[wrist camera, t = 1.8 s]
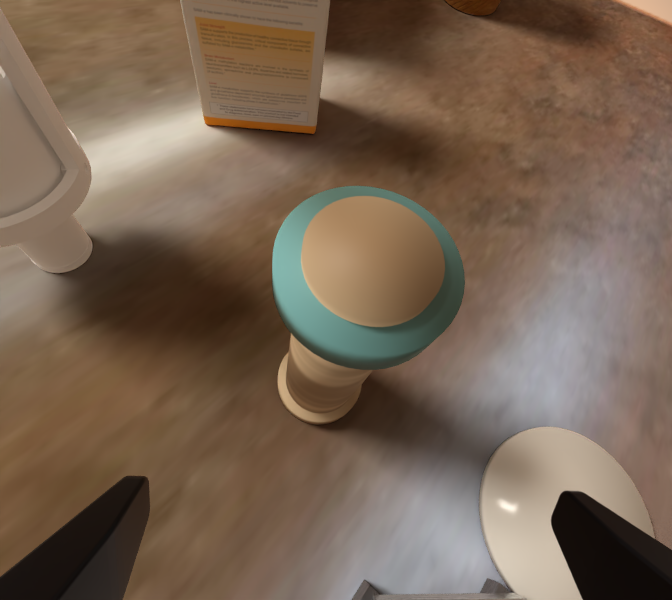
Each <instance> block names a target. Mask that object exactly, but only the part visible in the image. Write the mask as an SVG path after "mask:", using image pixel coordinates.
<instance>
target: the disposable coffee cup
mask: <svg viewBox="0 0 672 600" xmlns="http://www.w3.org/2000/svg"><path fill="white" fill-rule="evenodd" d="M445 1H446V2H447V3H448V4H450V5H451V6H452V7H454V8H456V9H458V10H460V11H462V12H465V13H468V14H471V15H489V14H491V13H493V12H494V11H495V10H496V9H497V7H498V5H499V3H500V2H501V0H445Z"/></svg>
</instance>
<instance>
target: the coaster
mask: <svg viewBox="0 0 672 600" xmlns="http://www.w3.org/2000/svg"><path fill="white" fill-rule="evenodd" d="M563 491H581V492H584V493H585V494H587V495H588V496H590V497H592V498H593V499H595V500H596V501H598V502H599V503H601V504H602V505H604V506H605V507H607V508H608V509H610V510H611V511H613V512H614V513H616V514H617V515H619V516H621V517H622V518H624V519H625V520H627V521H628V522H630V523H631V524H633V525H634V526H636V527H637V528H639V529H640V530H642V531H643V532H645V533H646V534H648V535H650V536H651V537H653V538H654V539H655V536H654V532H653V527H652V523H651V520H650V517H649V514H648V511H647V509H646V506H645V504H644V502H643V499H642V497H641V496H640V494H639V492H638V490H637V488H636V486H635V485H634V483H633V482H632V480H631V479H630V477H629V476H628V474H627V473H626V472H625V471H624V469H623V468H622V467H621V466H620V464H619V463H618V462H617V461H616V460H615V459H614V458H613V457H612V456H611V455H610V454H609V453H607V452H606V451H605V450H604V449H603V448H602V447H600V446H599V445H597V444H596V443H595V442H593V441H592V440H590V439H588V438H586V437H584V436H583V435H580V434H578V433H576V432H573V431H570V430H566V429H563V428H557V427H539V428H533V429H529V430H525V431H522V432H519V433H517V434H515V435H513V436H511V437H509V438H508V439H507V440H505V441H504V442H503V443H502V444H501V445H500V446H499V447H498V448H497V449H496V450H495V452H494V453H493V455H492V456H491V458H490V459H489V461H488V463H487V466H486V468H485V470H484V474H483V477H482V480H481V486H480V493H479V515H480V522H481V528H482V533H483V537H484V540H485V544H486V547H487V549H488V552H489V555H490V557H491V559H492V561H493V563H494V565H495V567H496V569H497V571H498V573H499V575H500V576H501V578H502V579H503V581H504V582H505V584H506V585H507V587H508V588H509V589H510V590H511V592H512V593H515V594H518V595H520V596H522V597H525V598H527V600H583V599H582V597H581V595H580V593H579V591H578V588H577V586H576V584H575V581H574V579H573V577H572V574H571V572H570V569H569V567H568V565H567V562H566V560H565V558H564V555H563V553H562V551H561V548H560V546H559V544H558V541H557V539H556V537H555V534H554V532H553V529H552V526H551V516H552V513H553V511H554V508H555V506H556V503H557V501H558V498H559V496H560V494H561V493H562V492H563Z"/></svg>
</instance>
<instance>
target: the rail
mask: <svg viewBox="0 0 672 600" xmlns="http://www.w3.org/2000/svg"><path fill="white" fill-rule="evenodd" d="M352 600H527V598H525V597H522V596H520V595H518V594H515V593H510V592H509V591H508V590H507V589H506V588H505V587H503V586H502V585H501V584H500V583H498V582H496V581H493V580H491V579H488V578H487V580H486V582H485V584H484V586H483V588H482V590H481V592H480V593H463V594H396V595H380V594H379V593H378V592H377V591H376V590H375V589H373V588H372V587H371V586H370V585H369V584H368V583H367V582H366V581H365V580H364V581H363V583H362V584H361V586H360V587H359V589H358V590H357V592H356V594H355V595H354V597H353V598H352Z"/></svg>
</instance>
